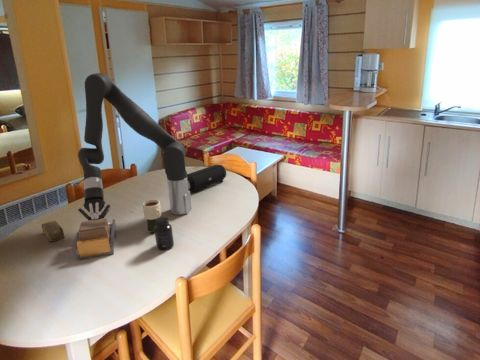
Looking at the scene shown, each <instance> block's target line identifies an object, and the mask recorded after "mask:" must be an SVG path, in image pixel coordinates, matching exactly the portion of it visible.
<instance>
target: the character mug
mask: <svg viewBox="0 0 480 360" xmlns="http://www.w3.org/2000/svg"><path fill="white" fill-rule="evenodd" d="M142 209H143V215H144V219H146V220H147V223H146V224H147V225H146V229H147V231H148V233H155V232H154V228H155V226H156V219H158V218H160V217H162V211H161V202H160V200H158V199H154V198H153V199H152V198H151V199H148V200H145V201H144V202H143V203H142Z"/></svg>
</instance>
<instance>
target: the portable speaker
mask: <svg viewBox="0 0 480 360" xmlns="http://www.w3.org/2000/svg"><path fill="white" fill-rule="evenodd" d="M226 177H227V170H226V168H225V167H224V165H222V164H217V163H216V164H213V165H211V166H207V167H204V168H202V169H198V170H195V171H192V172H190V173H187V181H188V191H190V193H193V192H196V191H198V190H201V189H204V188H206V187H209V186H211V185H214V184H217V183H220V182H221V181H223V180H224V179H225V178H226Z"/></svg>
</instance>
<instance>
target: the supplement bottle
mask: <svg viewBox="0 0 480 360" xmlns="http://www.w3.org/2000/svg"><path fill="white" fill-rule="evenodd" d="M153 233H154V237H155V238H154V239H155V245H156V248H157V249H158V250H160V251H168V250H171V249H172V248H174V245H175V241H174V240H175V239H174V234H173V227H172V225H171V224H170V222H169V218H168V217H166V216H160V217H159V218H158V219H156V226H155V228H154V232H153Z"/></svg>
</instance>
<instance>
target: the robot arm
mask: <svg viewBox="0 0 480 360" xmlns="http://www.w3.org/2000/svg"><path fill="white" fill-rule="evenodd" d="M84 93H85V127H84V137H83V139H84V142H85V144H88V145H92V146H94V147H95V148H93V147H81V148H80V149H79V150H78V153H77V157H78V161H79V163H80V165H81V168H82V172H83V173H82V174H83V199H84V203H83V206H82V207H81V208H78V210H77V211H78V212H79V213H80V214H81V215H82V216H83V217H84V218H85V220H87V221H91V220H98V219H105V217H106V216H107V214H108V213H109V211H110V210H111V209H112V206H111V205H110V204H108V203H106V201H105V197H104V186H103V180H102V170H101V168H100V167H99V166H96V165H101V164H102V163H103V162H104V160H105V155H104V150H103V140H102V139H103V132H104V130H103V129H104V127H103V126H104V121H103V113H102V107H103V102H104V100H106V101H107V102H108V103H109V104H111V105H112V106H113V108H114V109H115V110H116V112H117V113H118V115H119V116H120V117H121V118H122V120H123V121H124V122H125V123H126V124H127V125H128V126H129V127H130V128H131V129H132V130H133V131H134V132H136V134H138V135H140V136H142V137H143V138H146V139H148V140H149V141H152V142H153V143H155V144H156V145H157V146H158V147H159V148H160V149H161V150H162V151H163V157H162V158H163V167H164V172H165V175H166V181H167V189H168V191H167V192H168V198H169V207H170V209H169V210H170V213H171V214H173V215H176V216H179V215H180V216H181V215H188V214H189V213H190V211H191V210H192V199H191V197H192V196H191V192H190V191H188V181H187V174H188V173H187V172H188V171H187V170H186V161H185V157H186V154H187V152H186V151H187V150H186V147H185V146H184V144H182V142H180V141H179V140H178V139H176V138H175V137H173V136H172V135H171V134H170V133H168V132H167V131H166V130H165V129H164V128H162V126H161V125H159V123H157V122H156V121H155V119H154V118H152V117H151V116H150V115H149V113H147V112H146V111H145V110H144V109H143V108H141V107H140V106H139V105H138V104H137V103H136V102H134V100H132V99H131V98H130V97H128V96H127V94H125V93H124V92H123V91H122V90H121V89H120V87H118V85H116V83H115V82H114V81H113V80H112V78H110V77H109V75H107V74H105V73H101V72H96V73H91V74H89V75H87V77H86V78H85V80H84ZM86 211H87V212H88V213H89V214H90V215H89V214H87V212H86Z"/></svg>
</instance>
